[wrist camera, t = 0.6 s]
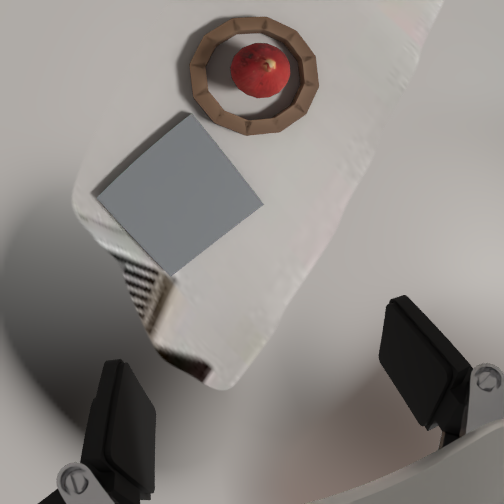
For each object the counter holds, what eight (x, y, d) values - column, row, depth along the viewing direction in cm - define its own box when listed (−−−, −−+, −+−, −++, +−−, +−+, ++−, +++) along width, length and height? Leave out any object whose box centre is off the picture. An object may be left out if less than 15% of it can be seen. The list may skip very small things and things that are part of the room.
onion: (216, 77, 29) (221, 64, 22) (250, 42, 28) (266, 21, 21) (256, 109, 31) (274, 107, 24) (289, 74, 30) (315, 63, 23)
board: (192, 113, 30) (191, 113, 29) (261, 201, 36) (263, 204, 35) (99, 195, 32) (96, 197, 31) (171, 271, 38) (170, 276, 36)
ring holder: (266, 3, 26) (269, -2, 24) (333, 92, 32) (339, 92, 30) (166, 65, 28) (164, 63, 26) (240, 157, 33) (242, 159, 32)
